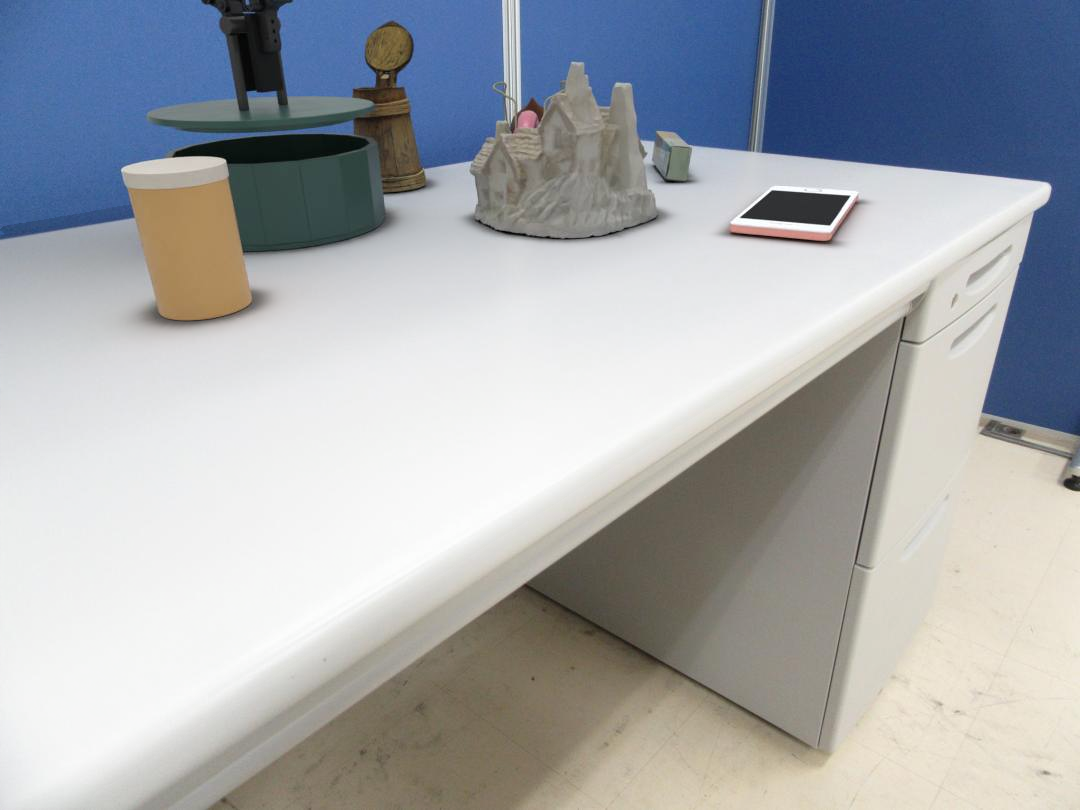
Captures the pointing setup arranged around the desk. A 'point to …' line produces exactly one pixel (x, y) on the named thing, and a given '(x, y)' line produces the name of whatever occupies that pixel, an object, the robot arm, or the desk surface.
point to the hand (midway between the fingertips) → (261, 90)
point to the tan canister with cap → (189, 236)
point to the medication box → (671, 156)
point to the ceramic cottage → (567, 168)
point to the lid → (257, 103)
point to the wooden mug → (390, 109)
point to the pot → (299, 187)
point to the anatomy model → (525, 111)
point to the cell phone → (796, 213)
